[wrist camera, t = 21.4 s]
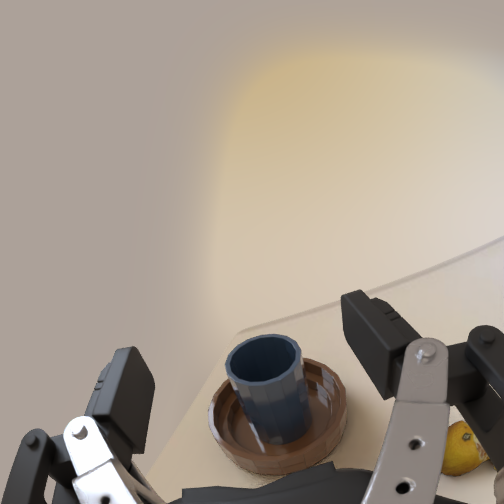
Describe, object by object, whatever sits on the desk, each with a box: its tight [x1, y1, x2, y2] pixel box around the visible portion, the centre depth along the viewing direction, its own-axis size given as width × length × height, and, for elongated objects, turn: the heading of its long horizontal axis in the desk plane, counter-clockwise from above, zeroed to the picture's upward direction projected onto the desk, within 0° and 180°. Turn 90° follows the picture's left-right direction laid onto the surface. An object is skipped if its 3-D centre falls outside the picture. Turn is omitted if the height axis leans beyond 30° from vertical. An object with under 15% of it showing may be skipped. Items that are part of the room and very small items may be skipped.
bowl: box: [208, 358, 347, 475], centre depth 27 cm, size 14×14×4 cm
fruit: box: [441, 420, 496, 476], centre depth 16 cm, size 8×8×4 cm
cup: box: [225, 334, 313, 445], centre depth 26 cm, size 7×7×10 cm
